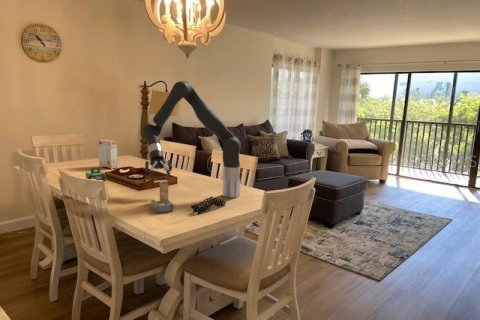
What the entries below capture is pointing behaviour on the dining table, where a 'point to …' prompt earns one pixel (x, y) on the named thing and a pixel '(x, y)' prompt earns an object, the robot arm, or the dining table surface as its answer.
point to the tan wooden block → (163, 190)
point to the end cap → (162, 206)
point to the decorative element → (207, 204)
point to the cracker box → (108, 153)
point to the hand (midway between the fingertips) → (160, 177)
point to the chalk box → (96, 174)
